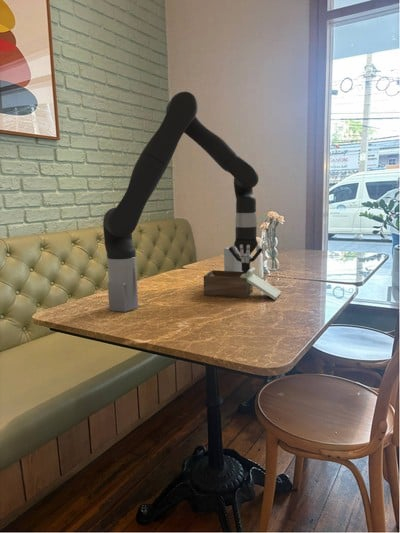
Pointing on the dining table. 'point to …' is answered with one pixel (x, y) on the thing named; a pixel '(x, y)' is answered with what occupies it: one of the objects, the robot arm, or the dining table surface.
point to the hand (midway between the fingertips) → (245, 272)
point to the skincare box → (231, 261)
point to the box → (226, 284)
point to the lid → (260, 284)
